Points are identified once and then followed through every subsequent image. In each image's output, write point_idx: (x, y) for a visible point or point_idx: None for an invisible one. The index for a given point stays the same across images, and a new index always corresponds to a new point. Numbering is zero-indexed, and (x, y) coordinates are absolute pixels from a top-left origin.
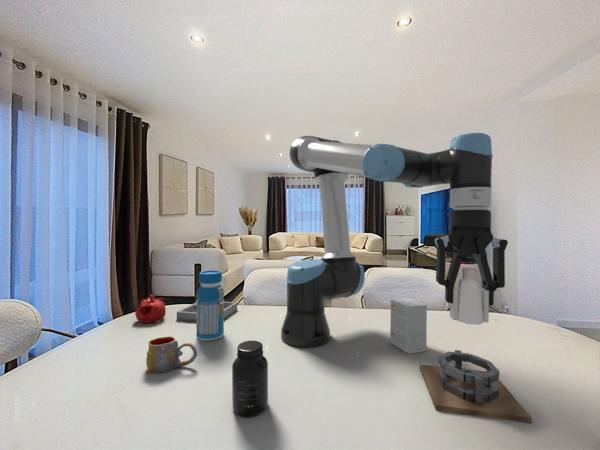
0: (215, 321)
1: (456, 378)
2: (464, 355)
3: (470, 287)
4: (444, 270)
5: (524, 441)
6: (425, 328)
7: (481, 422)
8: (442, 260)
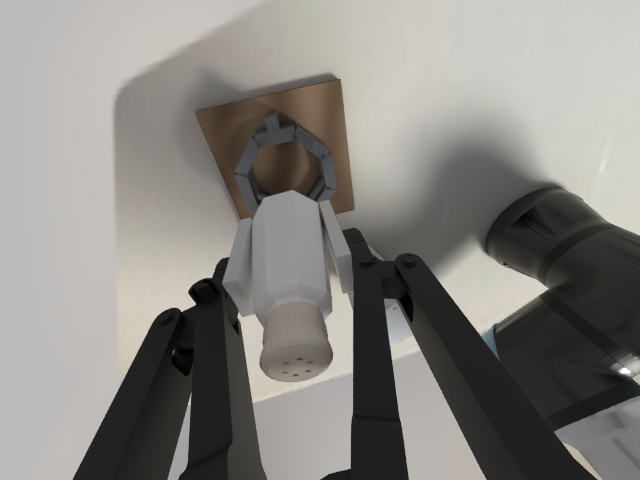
0: None
1: (308, 133)
2: None
3: (291, 265)
4: (426, 307)
5: (208, 43)
6: None
7: (270, 73)
8: (476, 361)
